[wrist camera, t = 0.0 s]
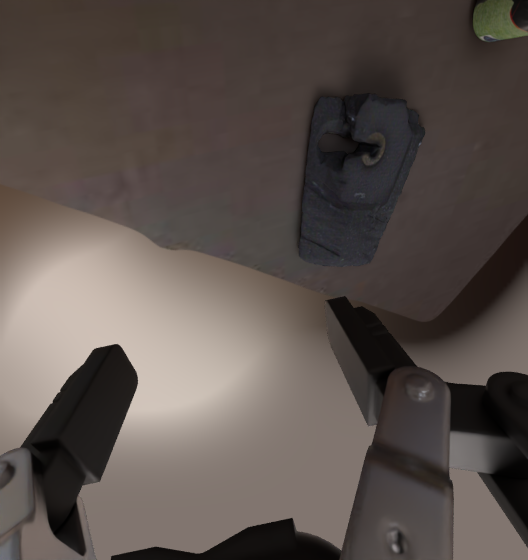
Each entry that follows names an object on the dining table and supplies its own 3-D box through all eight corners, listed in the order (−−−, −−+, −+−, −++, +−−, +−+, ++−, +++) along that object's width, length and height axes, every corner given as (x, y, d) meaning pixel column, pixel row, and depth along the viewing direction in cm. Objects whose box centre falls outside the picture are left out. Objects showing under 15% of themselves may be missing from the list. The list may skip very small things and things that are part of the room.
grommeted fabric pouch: (280, 256, 41) (285, 269, 37) (317, 84, 31) (330, 76, 27) (370, 267, 43) (384, 281, 39) (430, 112, 34) (458, 108, 29)
